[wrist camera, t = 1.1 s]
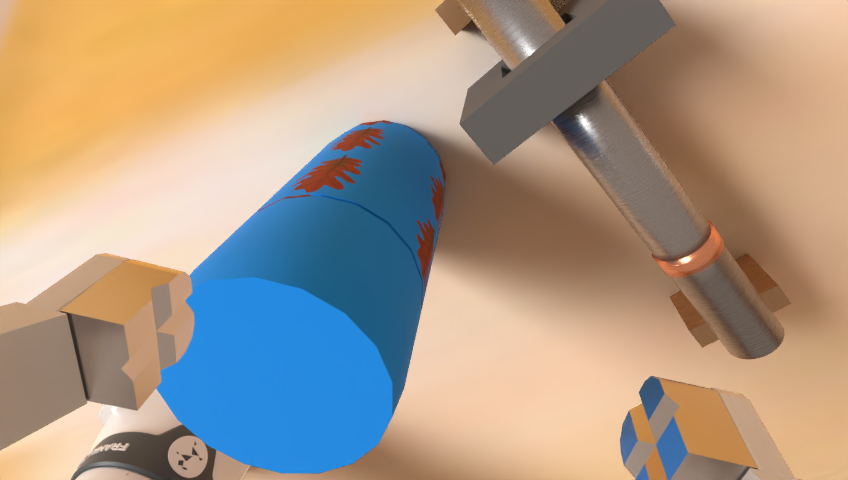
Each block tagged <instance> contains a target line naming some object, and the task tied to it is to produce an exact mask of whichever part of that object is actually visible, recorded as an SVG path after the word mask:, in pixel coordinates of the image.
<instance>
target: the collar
mask: <svg viewBox="0 0 848 480" xmlns="http://www.w3.org/2000/svg"><path fill="white" fill-rule="evenodd" d="M557 13H558V14H559V15H560V17H561V18H562V20H563V21H564V22H565V24H566V25H565V26H564V27H563V28H562V29H561V30H559V31H558V32H557V33H556V34H555V35H554V36H552V37H551V38H550V39H549V40H548V41H546V42H545V43H544V44H543V45H542V46H540V47H539V48H538V49H537V50H536V51H535V52H533V53H532V54H531V55H530V56H529V57H527V58H526V59H525V60H524V61H523V62H521V63H520V64H519V65H518V66H517V67H516V68H514V69H513V70H512V71H511V70H510V68H509V67H508V66H507V65H506V63H505V62H504V61H503V59H502V60H501V61H500V62H499V63H498V64H497V65H495V66H494V67H493V68H492V69H491V70H490V71H488V72H487V73H486V74H485V75H484V76H483V77H481V78H480V79H479V80H478V81H477V82H476V83H475V84H473V85H472V86H471V87H470V88H469V89H468V92H467V96H466V100H465V104H464V108H463V112H462V116H461V120H460V125H461V127H462V128H463V129H464V130H465V131H466V132H467V134H468V135H469V136H470V137H471V138H472V140H473V141H474V142H475V143H476V144H477V146H478V147H479V148H480V149H481V150H482V152H483V153H484V154H485V155H486V156H487V158H488V159H489V160H490V161H491V162H492V164H493V165H494V164H496V163H497V162H498V161H499V160H501V159H502V158H503V157H505V156H506V155H507V154H509V153H510V152H511V151H512V150H514V149H515V148H516V147H518V146H519V145H520V144H522V143H523V142H524V141H525V140H527V139H528V138H529V137H531V136H532V135H533V134H535V133H536V132H537V131H538V130H540V129H541V128H542V127H544V126H545V125H546V124H548V123H549V122H550V121H551V120H553V119H554V118H555V117H557V116H558V115H559V114H561V113H562V112H563V111H564V110H566V109H567V108H568V107H570V106H571V105H572V104H574V103H575V102H576V101H578V100H579V99H580V98H581V97H583V96H584V95H585V94H587V93H588V92H589V91H591V90H592V89H593V88H594V87H596V86H597V85H598V84H600V83H601V82H602V81H604V80H605V79H606V78H607V77H609V76H610V75H611V74H613V73H614V72H615V71H617V70H618V69H619V68H620V67H622V66H623V65H624V64H626V63H627V62H628V61H630V60H631V59H632V58H633V57H635V56H636V55H637V54H639V53H640V52H641V51H643V50H644V49H645V48H646V47H648V46H649V45H650V44H652V43H653V42H654V41H656V40H657V39H658V38H660V37H661V36H662V35H663V34H665V33H666V32H667V31H669V30H670V29H671V28H673V27H674V26H675V24H674V22H673V21H672V19H671V18H670V16H669V14H668V13H667V11H666V10H665V8H664V7H663V5H662V4H661V2H660V1H659V0H571V1H570V2H569V3H568V4H566V5H565V6H564V7H563V8H562V9H561V10H559V11H558V12H557Z"/></svg>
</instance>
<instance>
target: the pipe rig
mask: <svg viewBox="0 0 848 480" xmlns="http://www.w3.org/2000/svg"><path fill="white" fill-rule="evenodd" d="M435 10H436V12H437V13H438V14H439V15H440V17H441V18H442V19H443V20H444V22H445V23H446V24H447V25H448V27H449V28H450V29H451V30H452V32H453V33H454V34H455V35H456V34H457V33H458V32H460V31H461V30H462V29H463V28H464V27H465V26H466V25H467V24H468V23H469V22H470V21H471V20H472V21H473V22H474V23H475V24H476V26H477V27H478V28H479V30H480V31H481V32H482V33H483V35H484V36H485V37H486V39H487V40H488V41H489V43H490V44H491V45H492V46H493V48H494V49H495V50H496V52H497V53H498V54H499V55H500V57H501V58H502V59H503V61H504V62H505V63H506V65H507V66H508V67H509V68H510V70H511V71H512V70H513V69H514V68H516V67H517V66H518V65H519V64H520V63H521V62H523V61H524V60H525V59H526V58H527V57H529V56H530V55H531V54H532V53H533V52H535V51H536V50H537V49H538V48H539V47H540V46H542V45H543V44H544V43H545V42H546V41H548V40H549V39H550V38H551V37H552V36H554V35H555V34H556V33H557V32H558V31H559V30H561V29H562V28H563V27H564V26H565V25H566V24H565V22H564V21H563V20H562V18H561V17H560V15H559V14H558V13H557V11H556V10H555V8H554V7H553V6H552V4H551V3H550V1H549V0H445V1H444V2H443V3H442V4H441V5H440V6H439V7H438V8H437V9H435ZM551 123H552V124H553V125H554V127H555V128H556V129H557V130H558V132H559V133H560V134H561V136H562V137H563V138H564V139H565V141H566V142H567V143H568V145H569V146H570V147H571V149H572V150H573V151H574V152H575V154H576V155H577V156H578V158H579V159H580V160H581V161H582V163H583V164H584V165H585V167H586V168H587V169H588V171H589V172H590V173H591V174H592V176H593V177H594V178H595V180H596V181H597V182H598V183H599V185H600V186H601V187H602V189H603V190H604V191H605V192H606V194H607V195H608V196H609V198H610V199H611V200H612V202H613V203H614V204H615V205H616V207H617V208H618V209H619V211H620V212H621V213H622V214H623V216H624V217H625V218H626V220H627V221H628V222H629V224H630V225H631V226H632V227H633V229H634V230H635V231H636V233H637V234H638V235H639V236H640V238H641V239H642V240H643V242H644V243H645V244H646V245H647V247H648V248H649V249H650V251H651V252H652V256H653V258H654V259H655V261H656V262H657V263H658V265H659V266H660V267H661V269H662V270H663V271H664V272H665V273H666V274H667V275H669V276H671V278H672V279H673V280H674V282H675V283H676V284H677V286H678V287H679V288H680V289H681V291H680V292H678V293H676V294H675V295H673V296H671V297H670V298H671V300H672V302H673V303H674V305H675V307H676V309H677V310H678V312H679V314H680V315H681V317H682V319H683V321H684V322H685V324H686V326H687V328H688V329H689V331H690V332H691V334H692V335H693V336H694V337H695V339H696V340H697V341H698V342H699V344H700V345H701V346H702V347H704V346H706V345H708V344H710V343H712V342H714V341H716V340H718V339H719V340H720V341H721V342H722V344H723V345H724V346H725V348H726V349H727V350H728V351H729V353H730V354H732V355H733V356H735V357H738V358H741V359H756V358H760V357H763V356H766V355H768V354H770V353H771V352H773V351H774V350H775V349H777V348H778V347H779V345H780V344H781V343H782V341H783V338H784V329H783V327H782V325H781V324H780V322H779V321H778V320H777V318H776V317H775V315H774V314H773V313H772V312H774V311H776V310H778V309H780V308H782V307H784V306H786V305H788V304H790V302H789V300H788V299H787V297H786V296H785V295H784V293H783V292H782V290H781V289H780V287H779V286H778V285H777V284H776V283H775V282H774V281H773V280H772V279H771V277H770V276H769V275H768V274H767V273H766V272H765V271H764V270H763V269H762V268H761V267H760V266H759V265H758V264H757V263H756V262H755V261H754V260H753V259H752V258H751V257H750V256H749V255H748V254H747V255H745V256H743V257H741V258H740V259H738V260H736V261H735V260H734V258H733V257H732V255H731V254H730V253H729V251H728V250H727V248H726V247H725V246H724V240H723V239H722V237H721V236H720V234H719V233H718V232H717V230H716V229H715V227H714V226H713V225H712V223H711V222H709V221H708V220H706V219H705V218H704V216H703V215H702V214H701V212H700V211H699V209H698V208H697V207H696V205H695V204H694V202H693V201H692V200H691V198H690V197H689V195H688V194H687V193H686V191H685V190H684V188H683V187H682V186H681V184H680V183H679V181H678V180H677V179H676V177H675V176H674V174H673V173H672V172H671V170H670V169H669V168H668V166H667V165H666V163H665V162H664V161H663V159H662V158H661V156H660V155H659V154H658V152H657V151H656V149H655V148H654V147H653V145H652V144H651V142H650V141H649V140H648V138H647V137H646V135H645V134H644V133H643V131H642V130H641V128H640V127H639V126H638V124H637V123H636V121H635V120H634V119H633V117H632V116H631V114H630V113H629V112H628V110H627V109H626V107H625V106H624V105H623V103H622V102H621V101H620V99H619V98H618V96H617V95H616V94H615V92H614V91H613V89H612V88H611V87H610V85H609V84H608V82H607V81H606V80H604V81H602V82H601V83H600V84H598V85H597V86H596V87H594V88H593V89H592V90H591V91H589V92H588V93H587V94H585V95H584V96H583V97H581V98H580V99H579V100H578V101H576V102H575V103H574V104H572V105H571V106H570V107H568V108H567V109H566V110H564V111H563V112H562V113H561V114H559V115H558V116H557V117H555V118H554V119H553V120H551Z"/></svg>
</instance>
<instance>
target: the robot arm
mask: <svg viewBox="0 0 848 480" xmlns="http://www.w3.org/2000/svg"><path fill="white" fill-rule="evenodd" d="M192 293H193V291H192V283H191V277H190V276H189V275H188V274H186V273H185V272H182V271H178V270H174V269H170V268H166V267H161V266H157V265H153V264H149V263H145V262H141V261H137V260H130V259H127V258H123V257H119V256H115V255H110V254H106V253H105V254H98V255H95V256H94V257H92V258H91V259H89V260H88V261H87V262H85V263H84V264H82V265H81V266H79V267H78V268H77V269H75V270H74V271H72V272H71V273H69V274H68V275H67V276H65V277H64V278H62V279H61V280H59V281H58V282H57V283H55V284H54V285H52V286H51V287H49V288H48V289H47V290H45V291H44V292H42V293H41V294H39V295H38V296H37V297H35V298H34V299H32V300H31V301H30V302H28V303H27V304H22V303H18V302H15V303H12V304H8V305H4V306H1V307H0V450H2V449H4V448H6V447H8V446H9V445H11V444H13V443H15V442H17V441H19V440H20V439H22V438H24V437H26V436H28V435H30V434H32V433H33V432H35V431H37V430H39V429H41V428H43V427H44V426H46V425H48V424H50V423H52V422H54V421H55V420H57V419H59V418H61V417H63V416H65V415H67V414H68V413H70V412H72V411H74V410H76V409H78V408H79V407H81V406H83V405H85V404H86V403H87V401H91V402H96V403H101V404H104V405H103V407H102V409H101V410H100V412H99V414H98V417H99V420H100V421H101V423H102V425H103V426H104V427H103V429H102V430H101V432H100V434H99V435H98V437H97V439H96V440H95V442H94V444H93V445H92V447H91V449H90V453H89V454H88V455H87V456H86V457H85V458H84V460H83V461H82V462H81V464H80V465H79V467H78V469H77V471H76V472H75V473H74V475H73V477H72V478H71V480H243V478H244V476H245V474H246V473H247V471H248V469H249V468H250V466H251V465H247V464H243V463H241V462H239V461H237V460H235V459H233V458H231V457H229V456H227V455H225V454H223V453H222V452H220V451H218V450H216V449H214V448H212V447H210V446H208V445H207V444H205V443H204V442H203V441H202V440H201V439H199V438H198V437H197V436H196V435H195V434H194V433H192V432H191V431H190V430H189V429H188V428H186V427H185V426H184V425H183V424H182V423H181V422H179V421H178V420H177V418H176V417H175V415H174V414H173V412H172V411H171V410H170V408H169V407H168V405H167V404H166V402H165V401H164V399H163V398H162V396H161V395H160V393H159V392H158V391H157V389H156V388H157V387H158V385H159V384H160V383H161V382H162V380H161V370H163V369H165V368H167V367H169V366H172V365H174V364H176V363H177V362H178V361H179V360H180V358H181V357H182V356H183V354H184V353H185V352H186V350H187V348H188V345H189V343H190V341H191V339H192V336H193V330H194V324H195V322H194V312H193V311H192V309H191V308H190V307H189V305H188V304H187V303H186V301H185V300H186V299H187V298H188V297H189V296H190V295H191V294H192ZM639 394H640V397H641V400H642V404H640V405H639V406H637V407H635V408H633V409H631V410H629V412H628V414H627V416H626V419H625V421H624V423H623V426H622V432H621V438H620V444H621V454H622V459H623V463H624V466H625V467H626V468H627V469H628V470H629V472H630V473H631V474H632V475H633V476H634V477H635V478H636V479H635V480H800V479H796V478H795V477H794V476H793V474H792V472H791V470H790V469H789V467H788V465H787V464H786V462H785V460H784V458H783V457H782V455H781V453H780V451H779V450H778V448H777V446H776V445H775V443H774V441H773V439H772V438H771V436H770V434H769V433H768V431H767V429H766V427H765V426H764V424H763V422H762V421H761V419H760V417H759V415H758V414H757V412H756V410H755V409H754V407H753V405H752V403H751V402H750V400H749V399H747V398H746V397H745V396H744V395H742V394H739V393H734V392H729V391H724V390H719V389H714V388H710V389H709V388H705V387H700V386H696V385H691V384H686V383H682V382H677V381H672V380H668V379H663V378H659V377H654V376H651V377H650V378H648V379H647V380H646V381H645V382H644V384H643V386H642V388H641V389H640V391H639Z"/></svg>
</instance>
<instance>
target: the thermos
mask: <svg viewBox="0 0 848 480" xmlns="http://www.w3.org/2000/svg"><path fill="white" fill-rule="evenodd" d="M444 190H445V173H444V170H443V167H442V164H441V161H440V158H439V155H438V154H437V153H436V151H435V150H434V149H433V147H432V146H431V145H430V144H429V142H428V141H427V140H426V138H424V137H423V136H421V135H420V134H418V133H417V132H415V131H414V130H412V129H411V128H409V127H407V126H405V125H401V124H397V123H393V122H389V121H376V122H368V123H362V124H360V125H358V126H356V127H355V128H353V129H351V130H349V131H347V132H345V133H344V134H342V135H341V136H339V137H338V138H336V139H335V140H333V141H332V142H331V143H329V144H328V145H327V146H326V147H325V148H324V149H323V150H322V151H321V152H320V153H319V154H317V155H316V156H315V157H314V158H313V159H312V160H311V161H310V162H309V163H308V164H307V165H306V166H305V167H304V168H303V169H301V170H300V171H299V172H298V173H297V174H296V175H295V176H294V177H293V178H292V179H291V180H290V181H289V182H288V183H287V184H285V185H284V186H283V187H282V188H281V189H280V190H279V191H278V192H277V193H276V194H275V195H274V196H273V197H272V198H271V199H270V200H268V201H267V202H266V203H265V204H264V205H263V206H262V207H261V208H260V209H259V210H258V211H257V212H256V213H255V214H254V215H252V216H251V217H250V218H249V219H248V220H247V221H246V222H245V223H244V224H243V225H242V226H241V227H240V228H239V229H238V230H236V231H235V232H234V233H233V234H232V235H231V236H230V237H229V238H228V239H227V240H226V241H225V242H224V243H223V244H222V245H221V246H219V247H218V248H217V249H216V250H215V251H214V252H213V253H212V254H211V255H210V256H209V257H208V258H207V259H206V260H205V261H203V262H202V263H201V264H200V265H199V266H198V267H197V268H196V269H195V270H194V271H193V272H192V274H191V275H190V277H191V283H192V291H193V293H192V294H191V295H190V296H189V297H188V298H187V299H186V300H185V301H186V303H187V304H188V305H189V307H190V308H191V309H192V311H193V312H194V322H195V324H194V330H193V336H192V339H191V341H190V343H189V345H188V348H187V350H186V352H185V353H184V354H183V356H182V357H181V358H180V360H179V361H178V362H177V363H176V364H174V365H172V366H169V367H167V368H165V369H163V370H161V380H162V382H161V383H160V384H159V385H158V387H157V388H156V389H157V391H158V392H159V393H160V395H161V396H162V398H163V399H164V401H165V402H166V404H167V405H168V407H169V408H170V410H171V411H172V412H173V414H174V415H175V417H176V418H177V420H178V421H179V422H181V423H182V424H183V425H184V426H185V427H186V428H188V429H189V430H190V431H191V432H192V433H194V434H195V435H196V436H197V437H198V438H199V439H201V440H202V441H203V442H204V443H205V444H207V445H208V446H210V447H212V448H214V449H216V450H218V451H220V452H222V453H223V454H225V455H227V456H229V457H231V458H233V459H235V460H237V461H239V462H241V463H243V464H247V465H251V466H255V467H259V468H263V469H267V470H271V471H275V472H279V473H322V472H325V471H329V470H332V469H336V468H339V467H343V466H346V465H349V464H353V463H354V462H355V461H357V460H358V459H359V458H361V457H362V456H363V455H365V454H366V453H367V452H369V451H370V450H371V449H372V448H374V447H375V446H376V445H378V443H379V441H380V440H381V438H382V436H383V434H384V432H385V430H386V428H387V426H388V424H389V422H390V420H391V418H392V416H393V414H394V411H395V409H396V407H397V404H398V402H399V399H400V397H401V394H402V392H403V389H404V386H405V382H406V377H407V373H408V368H409V364H410V359H411V355H412V350H413V346H414V341H415V337H416V332H417V328H418V323H419V319H420V314H421V309H422V305H423V301H424V296H425V292H426V287H427V283H428V278H429V274H430V269H431V265H432V260H433V256H434V251H435V247H436V242H437V238H438V233H439V229H440V224H441V220H442V215H443V204H444Z"/></svg>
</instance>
